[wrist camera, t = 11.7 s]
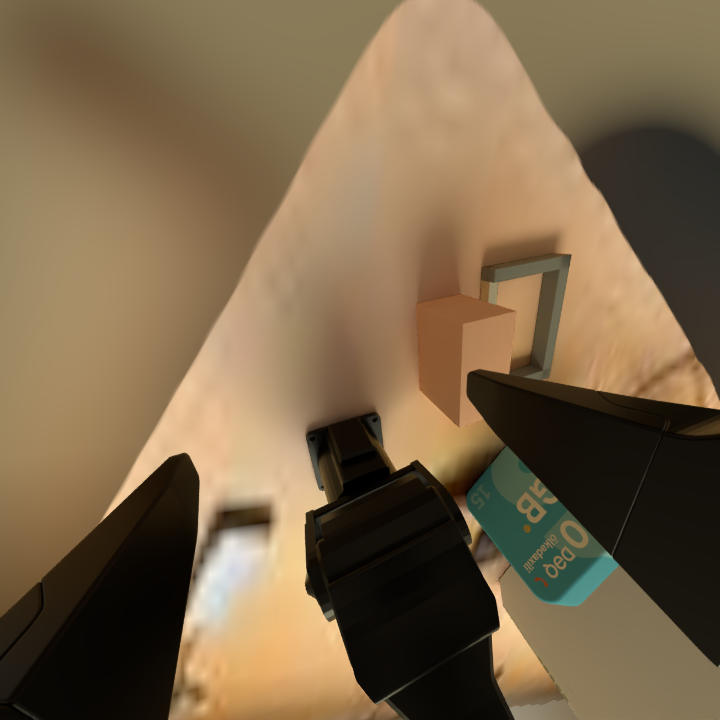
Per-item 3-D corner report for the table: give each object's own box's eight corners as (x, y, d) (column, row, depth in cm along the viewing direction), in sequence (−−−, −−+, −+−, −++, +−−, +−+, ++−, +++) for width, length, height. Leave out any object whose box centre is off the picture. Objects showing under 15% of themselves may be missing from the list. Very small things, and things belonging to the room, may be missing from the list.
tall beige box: (457, 378, 28) (504, 412, 22) (419, 389, 27) (459, 427, 22) (459, 294, 24) (516, 311, 19) (416, 303, 23) (462, 324, 18)
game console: (617, 458, 43) (858, 608, 26) (513, 587, 49) (654, 780, 32) (598, 450, 41) (852, 612, 24) (491, 588, 47) (630, 798, 29)
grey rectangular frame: (536, 371, 31) (549, 377, 29) (474, 390, 29) (485, 397, 28) (555, 253, 26) (571, 254, 24) (482, 267, 24) (495, 269, 23)
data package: (525, 420, 33) (649, 507, 23) (544, 433, 35) (666, 518, 25) (460, 499, 35) (547, 613, 25) (481, 507, 37) (570, 615, 27)
